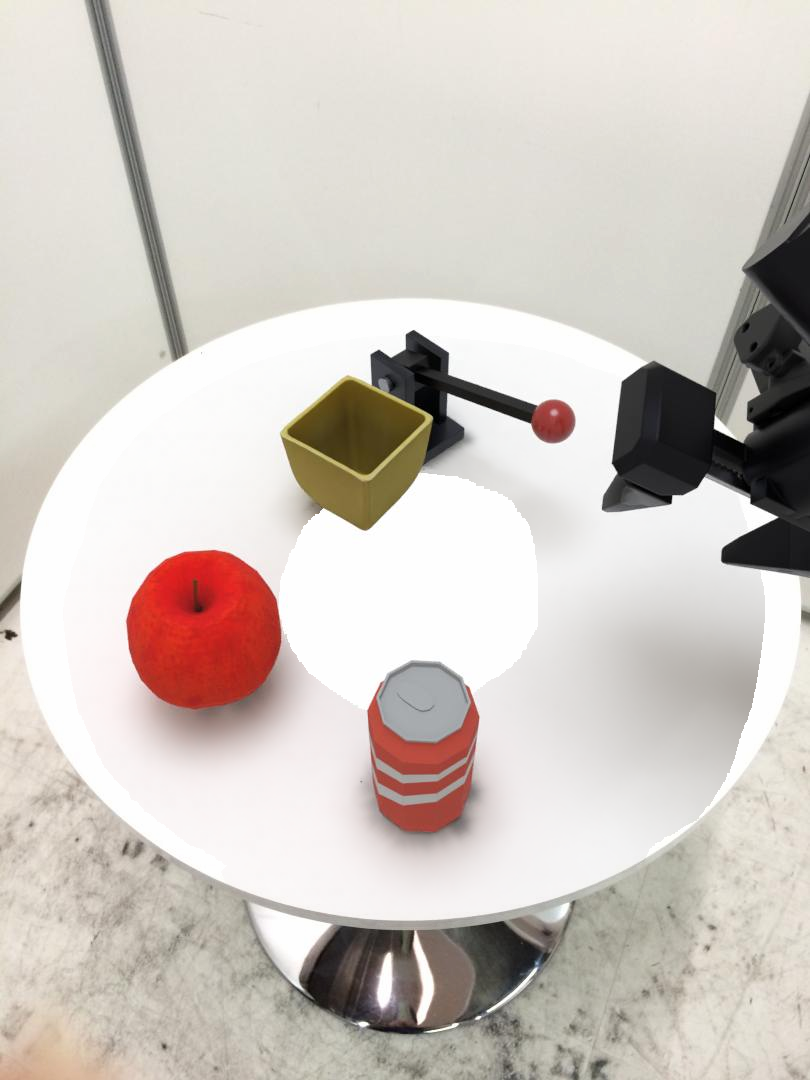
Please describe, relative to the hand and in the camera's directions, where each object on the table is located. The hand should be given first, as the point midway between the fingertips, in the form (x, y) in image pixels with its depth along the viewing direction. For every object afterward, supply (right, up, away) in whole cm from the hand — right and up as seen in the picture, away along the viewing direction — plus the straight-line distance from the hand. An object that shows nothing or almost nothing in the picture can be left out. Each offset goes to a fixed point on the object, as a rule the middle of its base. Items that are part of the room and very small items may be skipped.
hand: (665, 530), depth 54 cm
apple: (-29, -11, +9) cm, 33 cm away
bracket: (-16, +9, +26) cm, 32 cm away
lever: (-10, +10, +16) cm, 21 cm away
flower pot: (-20, +3, +20) cm, 28 cm away
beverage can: (-15, -17, +4) cm, 23 cm away
